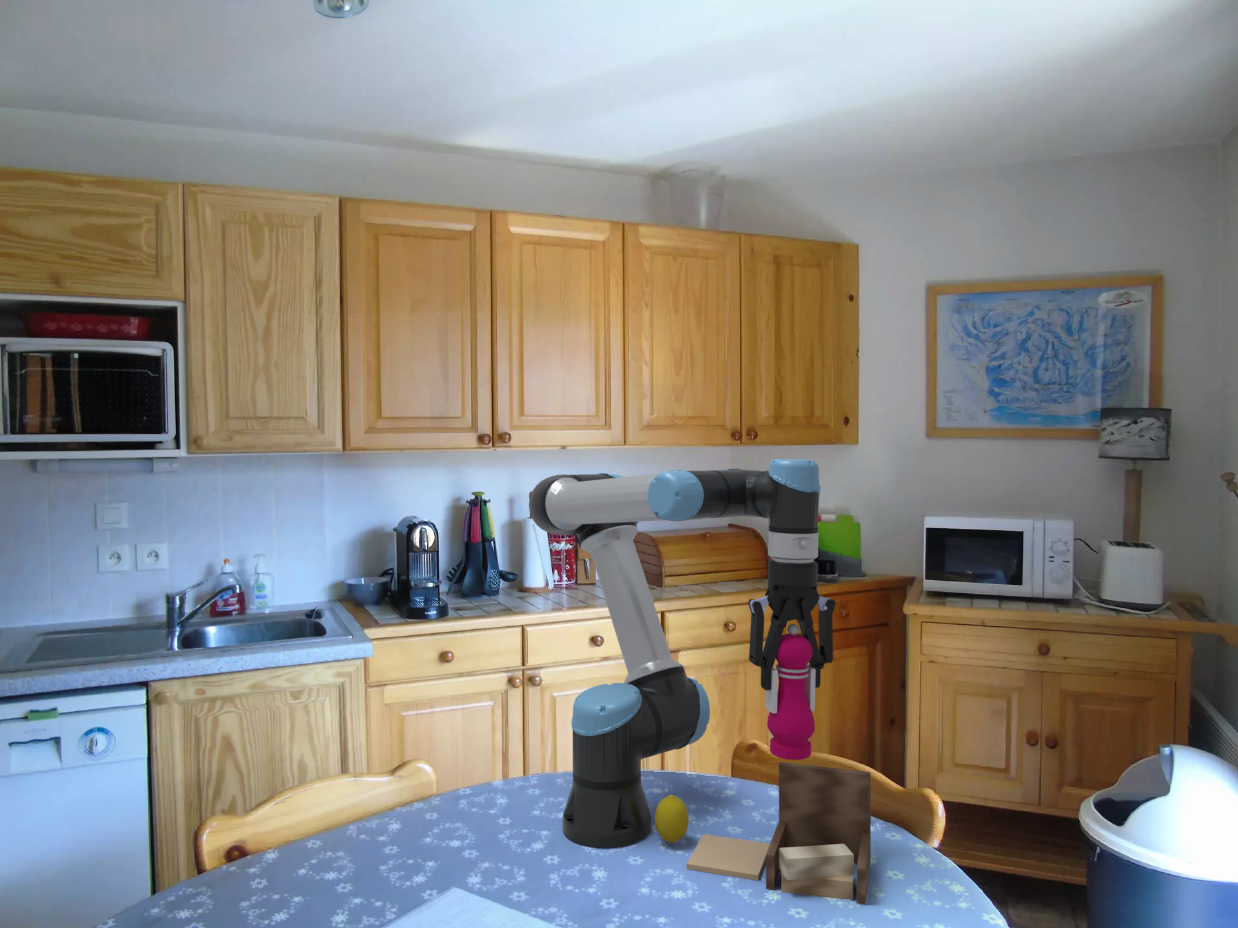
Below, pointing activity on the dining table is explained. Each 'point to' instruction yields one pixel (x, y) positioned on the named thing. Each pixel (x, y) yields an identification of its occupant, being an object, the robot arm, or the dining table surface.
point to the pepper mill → (792, 699)
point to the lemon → (671, 819)
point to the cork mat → (729, 857)
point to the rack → (823, 816)
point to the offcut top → (816, 861)
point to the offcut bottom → (820, 886)
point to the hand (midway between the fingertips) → (790, 708)
